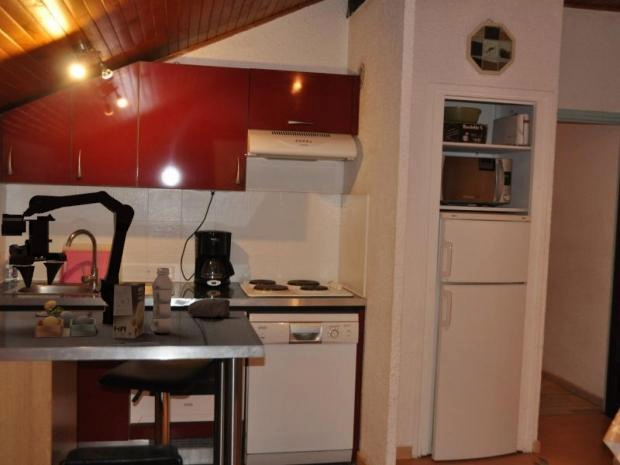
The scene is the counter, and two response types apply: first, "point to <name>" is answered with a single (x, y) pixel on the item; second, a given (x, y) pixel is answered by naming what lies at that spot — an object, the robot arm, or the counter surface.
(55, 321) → the ochre ball
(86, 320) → the slate ball
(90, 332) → the wooden sorting board
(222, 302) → the perforated stone tool
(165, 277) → the plastic bottle
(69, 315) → the slate ball
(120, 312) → the coffee box
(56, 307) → the burger
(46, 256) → the robot arm
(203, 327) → the counter surface
